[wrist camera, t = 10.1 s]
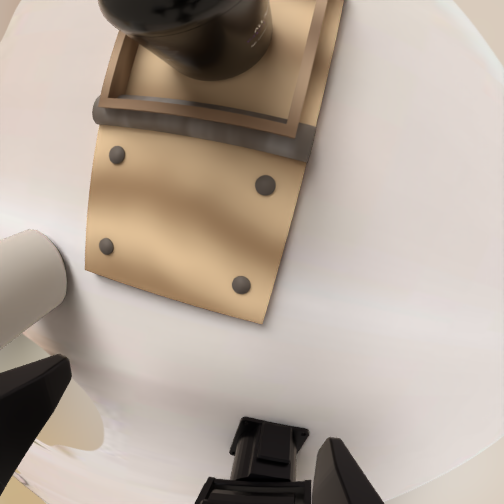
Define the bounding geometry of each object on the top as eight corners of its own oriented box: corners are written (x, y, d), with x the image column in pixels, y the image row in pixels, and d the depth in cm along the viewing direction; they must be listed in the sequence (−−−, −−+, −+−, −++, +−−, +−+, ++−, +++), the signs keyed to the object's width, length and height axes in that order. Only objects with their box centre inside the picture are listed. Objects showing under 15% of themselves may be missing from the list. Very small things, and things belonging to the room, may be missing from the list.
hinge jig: (263, 315, 22) (259, 340, 19) (93, 264, 22) (70, 279, 19) (344, -8, 14) (352, -31, 11) (156, -26, 15) (139, -45, 12)
